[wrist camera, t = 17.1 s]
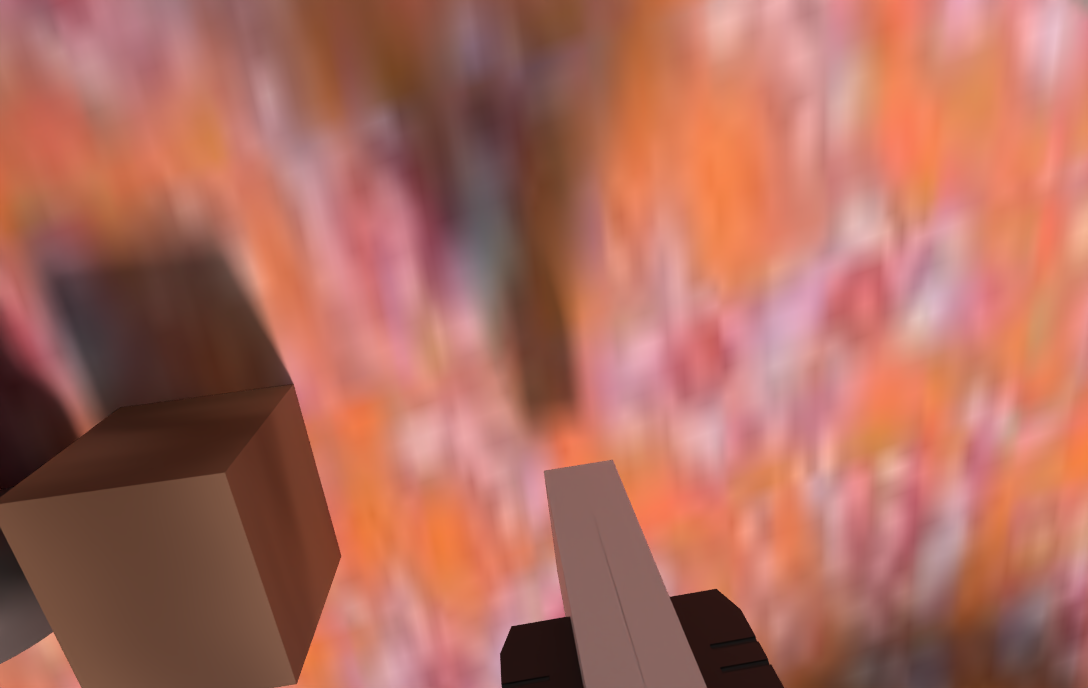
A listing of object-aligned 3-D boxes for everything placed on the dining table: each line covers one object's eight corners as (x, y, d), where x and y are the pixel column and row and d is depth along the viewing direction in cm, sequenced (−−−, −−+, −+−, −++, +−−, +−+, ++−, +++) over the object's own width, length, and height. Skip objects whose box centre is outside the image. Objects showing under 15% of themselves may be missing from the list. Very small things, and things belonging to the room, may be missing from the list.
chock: (189, 575, 16) (95, 714, 12) (122, 405, 14) (-11, 505, 10) (342, 553, 16) (296, 684, 12) (294, 382, 14) (224, 472, 10)
